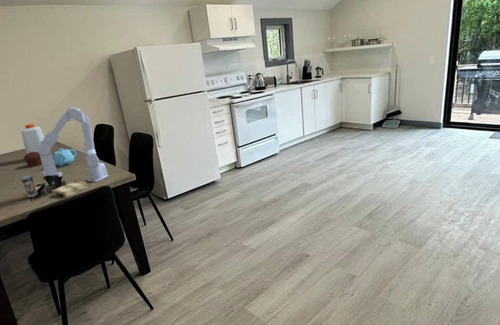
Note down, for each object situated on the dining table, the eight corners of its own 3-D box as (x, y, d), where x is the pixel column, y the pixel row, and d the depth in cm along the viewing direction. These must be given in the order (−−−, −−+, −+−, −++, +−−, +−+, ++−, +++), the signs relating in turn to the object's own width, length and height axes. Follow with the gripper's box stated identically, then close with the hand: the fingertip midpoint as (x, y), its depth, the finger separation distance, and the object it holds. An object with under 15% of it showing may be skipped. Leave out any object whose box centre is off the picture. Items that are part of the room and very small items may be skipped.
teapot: (78, 159, 245) (73, 144, 241) (81, 163, 232) (76, 147, 228) (48, 165, 235) (43, 150, 231) (49, 170, 221) (44, 154, 218)
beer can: (28, 198, 172) (20, 178, 168) (27, 196, 176) (20, 176, 172) (38, 196, 175) (31, 175, 171) (37, 193, 178) (31, 173, 175)
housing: (63, 185, 188) (61, 177, 186) (69, 185, 186) (66, 177, 184) (43, 193, 177) (41, 185, 176) (49, 194, 175) (47, 186, 173)
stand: (75, 185, 184) (74, 180, 184) (88, 186, 180) (86, 181, 180) (53, 195, 172) (52, 190, 172) (66, 197, 168) (64, 191, 167)
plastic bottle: (31, 158, 264) (20, 125, 256) (51, 154, 270) (41, 121, 261) (27, 162, 251) (15, 127, 242) (49, 158, 257) (38, 124, 248)
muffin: (29, 168, 233) (25, 155, 230) (24, 166, 240) (19, 154, 236) (47, 163, 242) (43, 150, 239) (41, 161, 248) (37, 149, 245)
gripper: (33, 166, 176) (41, 189, 180) (50, 167, 170) (58, 191, 174) (45, 162, 182) (52, 184, 186) (62, 163, 176) (69, 186, 181)
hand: (56, 187), depth 181 cm, fingers closed on housing, 5 cm apart
